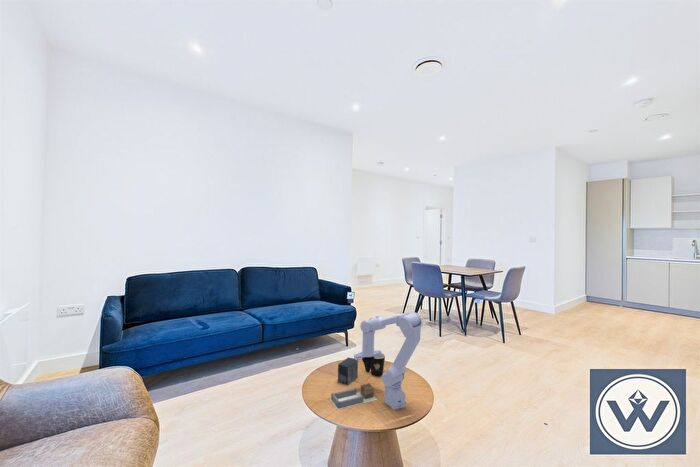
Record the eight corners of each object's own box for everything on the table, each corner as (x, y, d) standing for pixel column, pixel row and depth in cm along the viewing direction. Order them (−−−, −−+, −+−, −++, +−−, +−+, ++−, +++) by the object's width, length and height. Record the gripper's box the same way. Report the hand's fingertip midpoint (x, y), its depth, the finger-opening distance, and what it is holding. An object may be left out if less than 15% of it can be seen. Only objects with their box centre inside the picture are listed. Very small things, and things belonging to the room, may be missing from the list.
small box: (347, 375, 163) (348, 356, 163) (358, 379, 160) (358, 359, 160) (337, 383, 154) (337, 363, 154) (347, 387, 151) (348, 366, 151)
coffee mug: (387, 372, 168) (387, 354, 168) (380, 378, 161) (380, 360, 161) (369, 367, 174) (369, 350, 174) (361, 372, 167) (362, 355, 167)
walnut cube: (373, 397, 140) (373, 387, 140) (365, 399, 138) (365, 389, 138) (368, 392, 144) (368, 383, 144) (360, 394, 142) (360, 385, 142)
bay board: (377, 401, 138) (377, 394, 138) (337, 411, 130) (337, 403, 130) (367, 392, 147) (367, 384, 147) (329, 400, 138) (329, 393, 138)
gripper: (376, 339, 155) (376, 365, 155) (351, 343, 149) (350, 370, 149) (383, 344, 149) (383, 371, 149) (358, 348, 142) (357, 376, 142)
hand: (367, 371), depth 148 cm, fingers closed
